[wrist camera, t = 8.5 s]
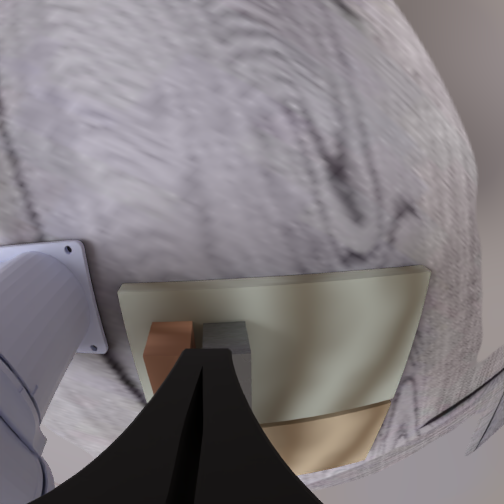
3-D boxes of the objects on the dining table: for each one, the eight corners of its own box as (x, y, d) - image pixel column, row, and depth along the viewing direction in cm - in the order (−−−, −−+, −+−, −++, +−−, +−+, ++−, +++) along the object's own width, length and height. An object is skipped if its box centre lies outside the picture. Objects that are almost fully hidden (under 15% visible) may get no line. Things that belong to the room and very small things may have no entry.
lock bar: (253, 454, 22) (257, 482, 19) (216, 457, 22) (218, 484, 19) (252, 320, 17) (259, 352, 14) (196, 323, 17) (193, 356, 14)
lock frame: (180, 475, 25) (179, 508, 21) (122, 283, 17) (100, 322, 13) (361, 452, 27) (374, 480, 23) (421, 264, 19) (459, 291, 15)
